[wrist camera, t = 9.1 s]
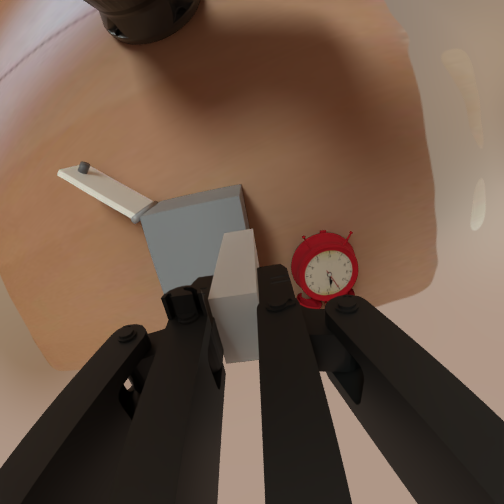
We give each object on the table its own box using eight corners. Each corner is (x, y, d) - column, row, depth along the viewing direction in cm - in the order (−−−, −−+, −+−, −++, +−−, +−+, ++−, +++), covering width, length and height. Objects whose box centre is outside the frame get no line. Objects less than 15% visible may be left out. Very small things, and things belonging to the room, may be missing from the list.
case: (160, 201, 40) (136, 219, 31) (241, 184, 40) (238, 197, 30) (194, 315, 48) (184, 354, 38) (264, 305, 47) (268, 343, 38)
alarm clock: (363, 228, 39) (364, 325, 41) (349, 225, 45) (352, 312, 47) (291, 236, 39) (299, 336, 41) (286, 232, 45) (294, 320, 47)
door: (162, 196, 40) (143, 210, 32) (156, 208, 40) (136, 225, 32) (89, 156, 37) (59, 161, 29) (85, 168, 37) (54, 176, 30)
